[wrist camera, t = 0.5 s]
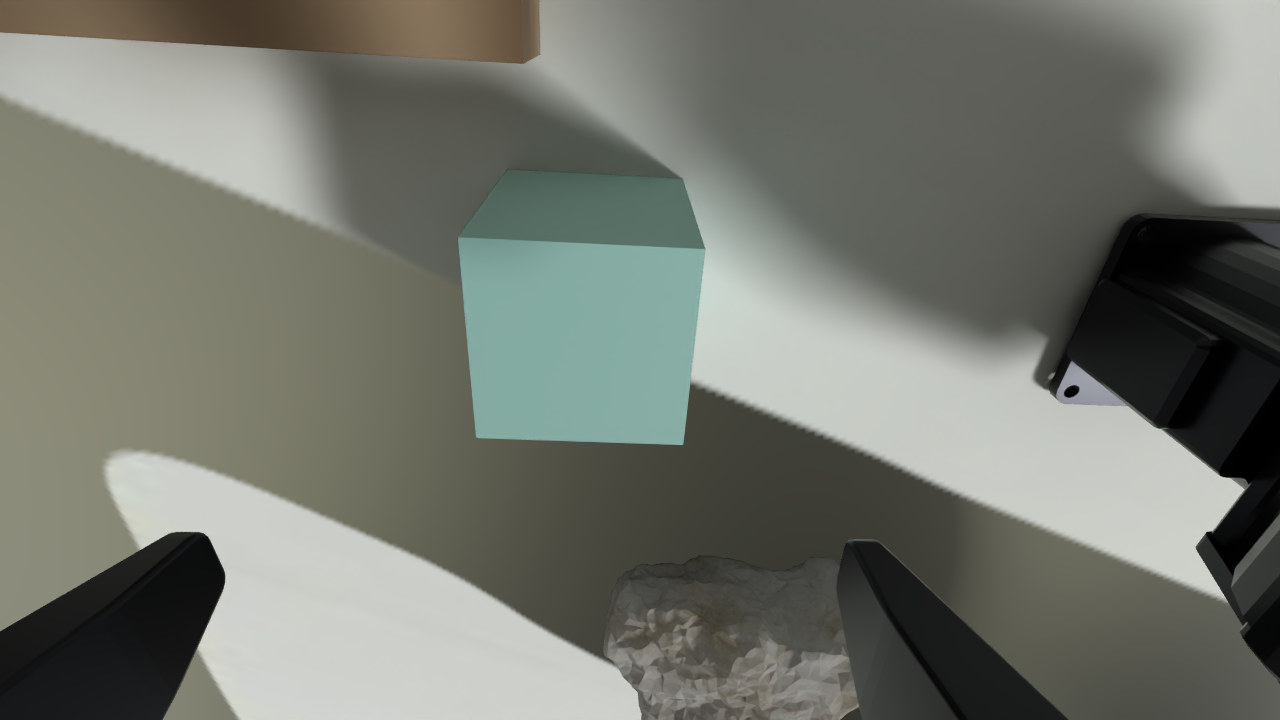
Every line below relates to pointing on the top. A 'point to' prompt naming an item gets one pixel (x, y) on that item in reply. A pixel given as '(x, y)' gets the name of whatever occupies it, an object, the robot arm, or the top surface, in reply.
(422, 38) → the walnut base
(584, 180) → the teal block
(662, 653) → the stone
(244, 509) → the top surface
